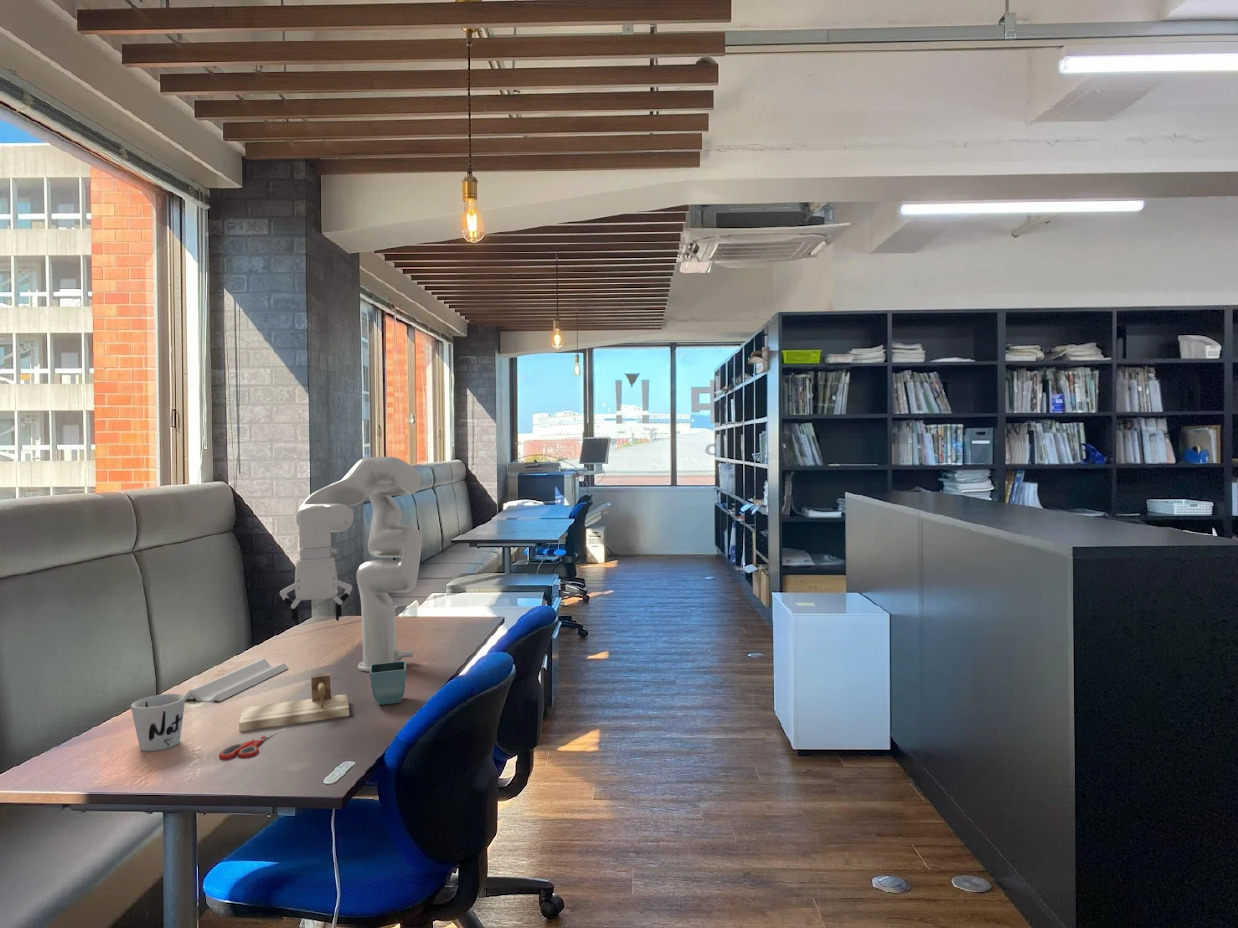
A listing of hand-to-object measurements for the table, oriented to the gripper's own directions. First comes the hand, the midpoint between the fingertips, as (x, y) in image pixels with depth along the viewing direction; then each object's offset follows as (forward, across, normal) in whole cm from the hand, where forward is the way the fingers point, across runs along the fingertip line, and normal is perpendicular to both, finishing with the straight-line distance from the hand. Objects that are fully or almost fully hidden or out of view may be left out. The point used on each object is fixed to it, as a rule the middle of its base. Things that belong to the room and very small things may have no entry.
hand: (317, 621), depth 202 cm
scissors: (+22, +13, +23) cm, 34 cm away
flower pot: (+21, -17, +6) cm, 28 cm away
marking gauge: (+20, -1, +6) cm, 21 cm away
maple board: (+21, +5, +8) cm, 23 cm away
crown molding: (+21, +22, -30) cm, 43 cm away
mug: (+22, +34, +14) cm, 43 cm away
